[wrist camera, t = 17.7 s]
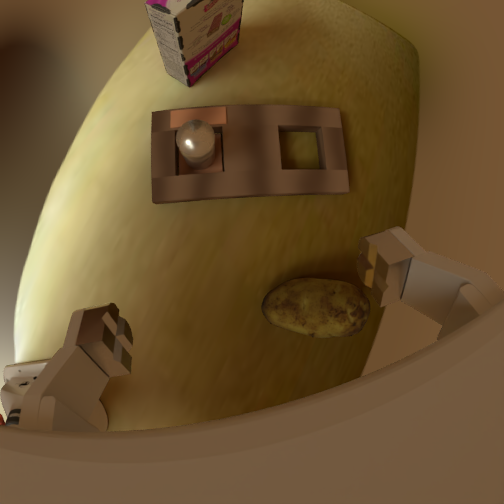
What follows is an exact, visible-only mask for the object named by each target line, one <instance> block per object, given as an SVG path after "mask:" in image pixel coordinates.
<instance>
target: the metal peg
mask: <svg viewBox="0 0 504 504" xmlns="http://www.w3.org/2000/svg"><path fill="white" fill-rule="evenodd" d="M176 142H177V145H178V147H179V149H180V151H181V153H182V155H183V157H184V159H185V161H186V163H187V164H188V166H190V167H191V168H193V169H196V170H203V169H206V168H208V167H209V166H210V165H211V164H212V163H213V161H214V159H215V136H214V131H213V128H212V127H211V126H210V124H208V123H207V122H205V121H203V120H198V119H195V120H190V121H187V122H186V123H184V124H183V125H182V126H181V127H180V128H179V130H178V132H177V135H176Z"/></svg>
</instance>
